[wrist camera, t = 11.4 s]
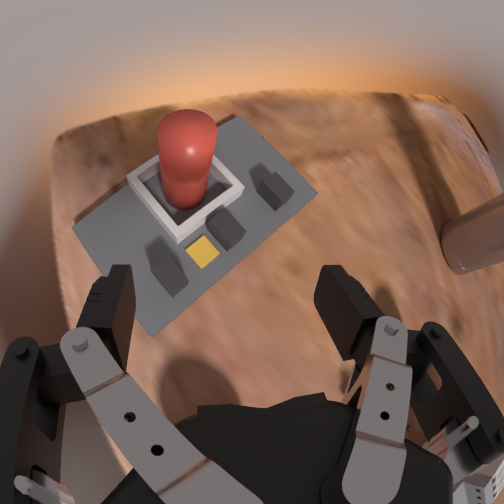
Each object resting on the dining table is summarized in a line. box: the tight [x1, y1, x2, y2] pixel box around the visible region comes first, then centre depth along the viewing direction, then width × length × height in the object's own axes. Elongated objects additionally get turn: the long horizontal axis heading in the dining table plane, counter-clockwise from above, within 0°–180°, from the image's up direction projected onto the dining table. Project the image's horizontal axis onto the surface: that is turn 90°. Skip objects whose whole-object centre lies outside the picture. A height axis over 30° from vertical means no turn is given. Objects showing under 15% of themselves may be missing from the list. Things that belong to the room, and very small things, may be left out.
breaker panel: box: [72, 116, 318, 337], centre depth 29 cm, size 24×14×4 cm, turn 133°
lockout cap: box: [157, 109, 218, 210], centre depth 25 cm, size 5×5×10 cm
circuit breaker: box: [422, 440, 504, 504], centre depth 20 cm, size 8×14×15 cm, turn 122°
